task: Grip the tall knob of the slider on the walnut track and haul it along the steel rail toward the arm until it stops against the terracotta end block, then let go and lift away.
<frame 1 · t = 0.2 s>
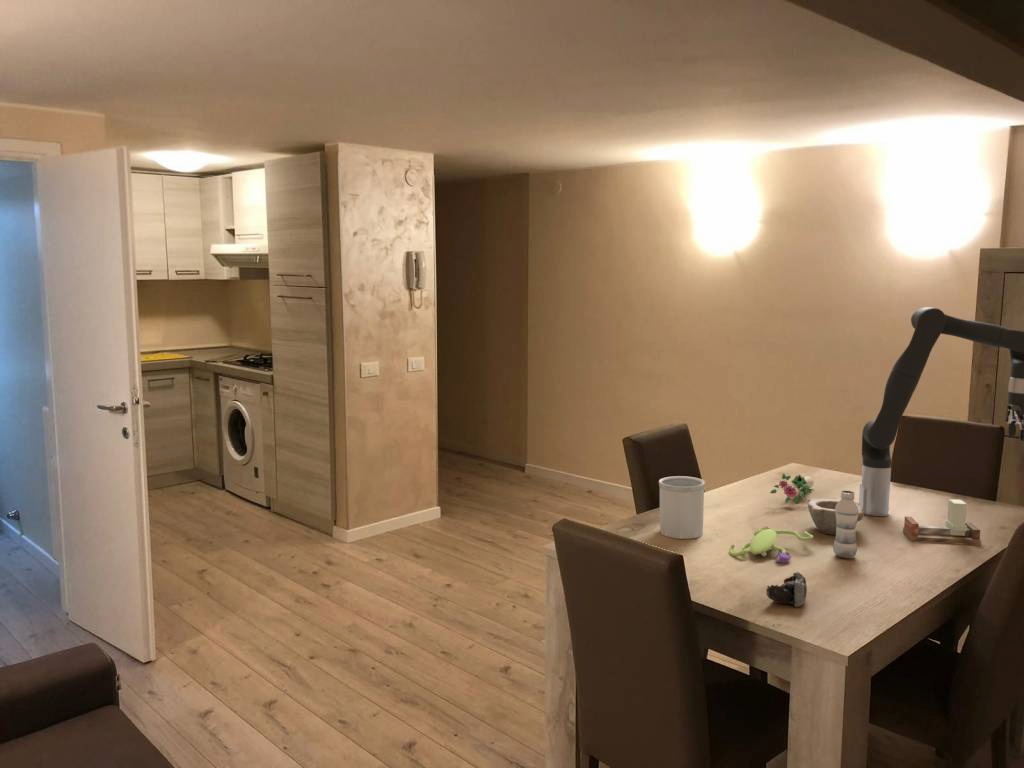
hand: (1017, 438, 274), 29 cm above the table, tool pointing down, fingers open, 8 cm apart
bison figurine: (785, 601, 209), on the table
flower vase: (797, 498, 306), on the table
slider: (956, 517, 257), point 7 cm above the table, slide at 0.0 cm
figurine: (771, 551, 248), on the table
plastic bottle: (844, 557, 241), on the table
track: (940, 538, 258), on the table
mortar: (834, 531, 266), on the table
utensil holder: (680, 533, 265), on the table
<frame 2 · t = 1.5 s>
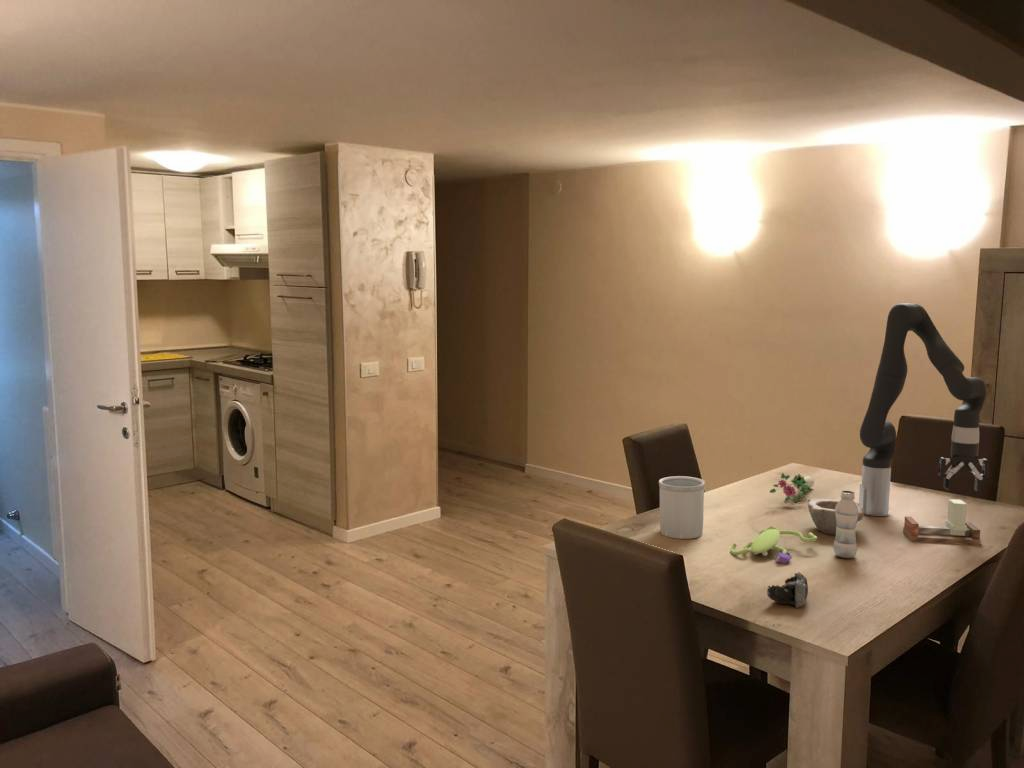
hand: (962, 490, 256), 16 cm above the table, tool pointing down, fingers open, 8 cm apart
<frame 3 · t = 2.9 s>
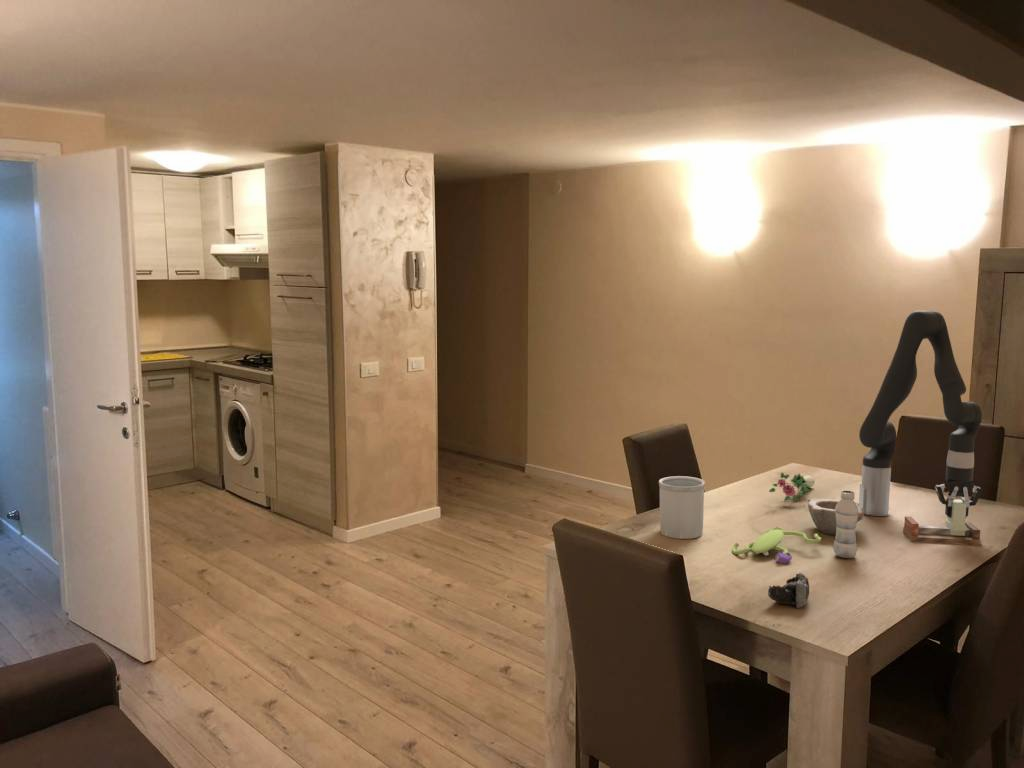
hand: (956, 517, 257), 7 cm above the table, tool pointing down, fingers closed on slider, 3 cm apart
slider: (956, 517, 257), point 7 cm above the table, slide at 0.0 cm, touching gripper
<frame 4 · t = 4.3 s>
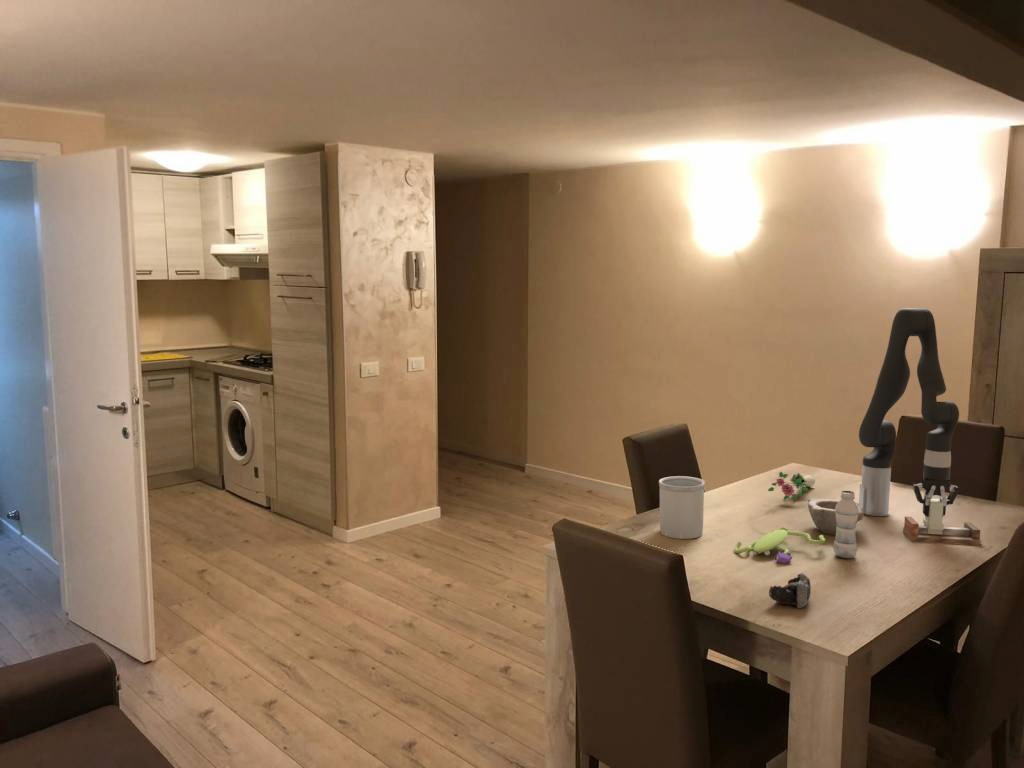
hand: (933, 516, 258), 7 cm above the table, tool pointing down, fingers closed on slider, 3 cm apart
slider: (933, 516, 258), point 7 cm above the table, slide at 6.7 cm, touching gripper
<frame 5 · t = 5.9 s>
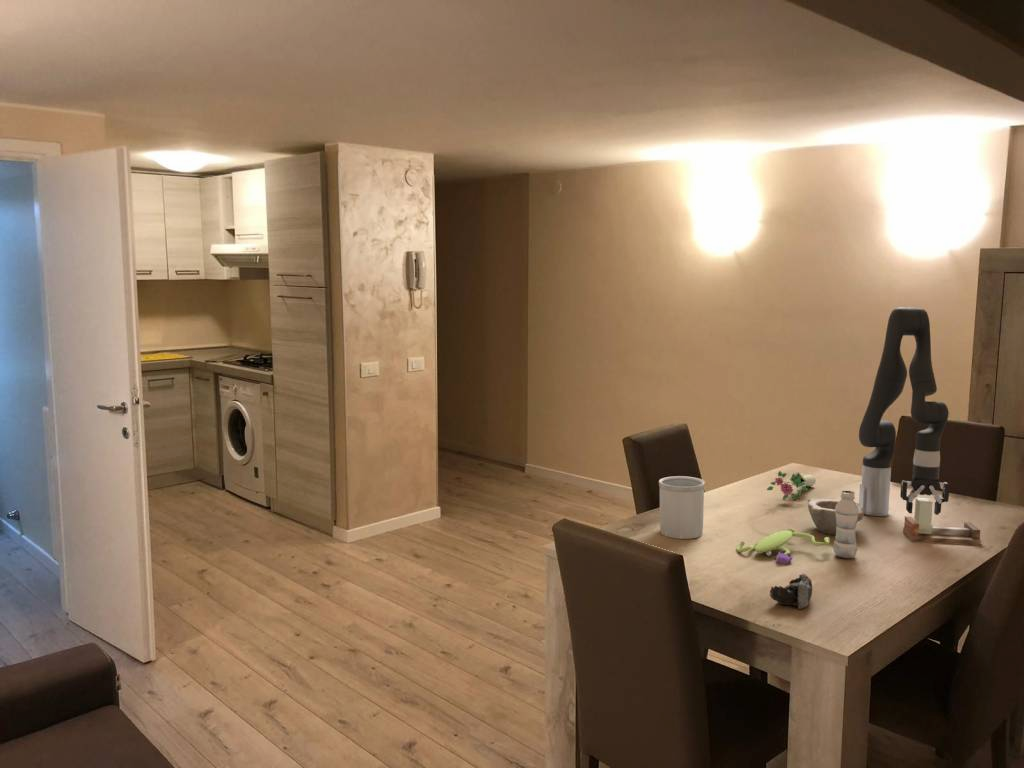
hand: (923, 513, 258), 8 cm above the table, tool pointing down, fingers open, 7 cm apart
flower vase: (796, 496, 310), on the table
slider: (923, 515, 258), point 7 cm above the table, slide at 9.9 cm
figurine: (784, 552, 247), on the table
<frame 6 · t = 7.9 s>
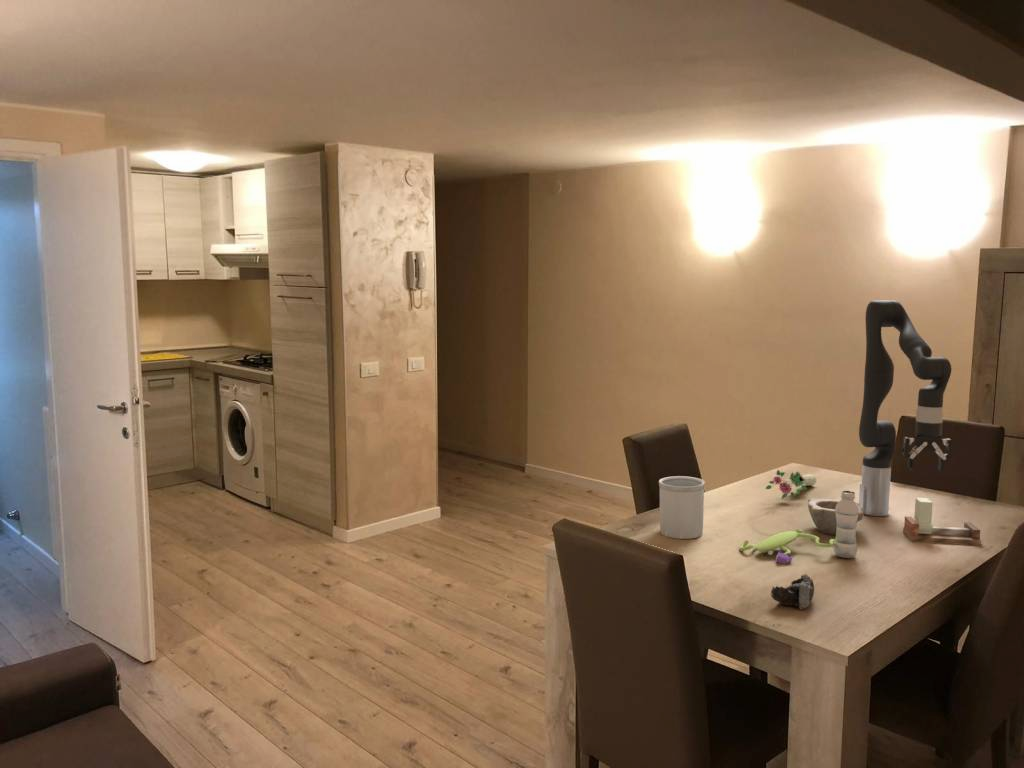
hand: (925, 470, 257), 22 cm above the table, tool pointing down, fingers open, 8 cm apart
flower vase: (796, 495, 311), on the table
figurine: (788, 553, 247), on the table
at the end: slider slide at 9.9 cm; the gripper is holding nothing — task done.
